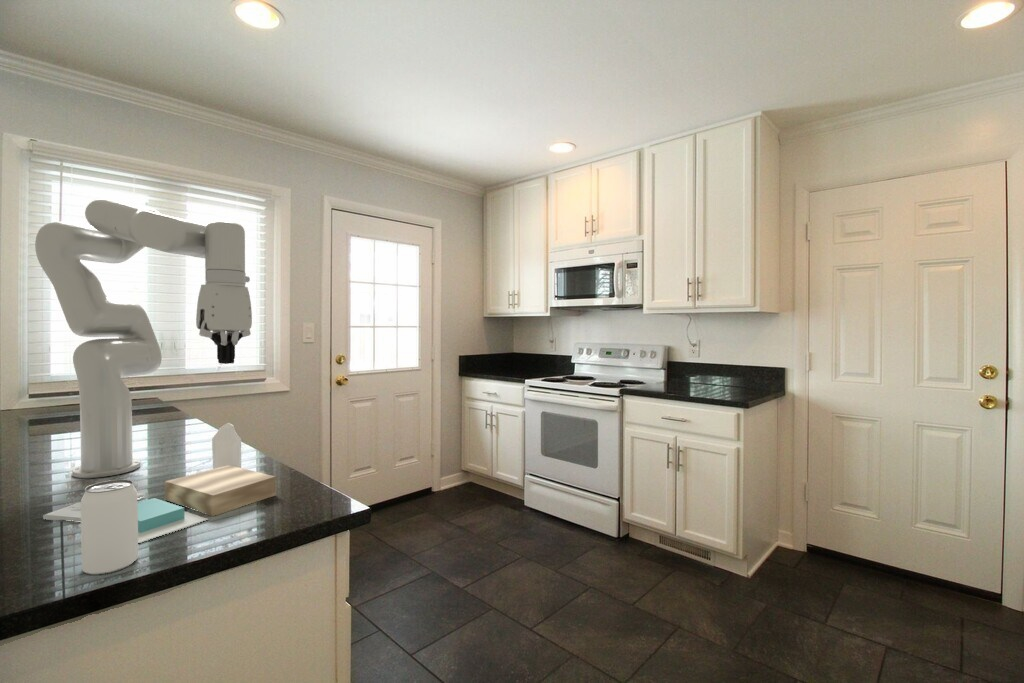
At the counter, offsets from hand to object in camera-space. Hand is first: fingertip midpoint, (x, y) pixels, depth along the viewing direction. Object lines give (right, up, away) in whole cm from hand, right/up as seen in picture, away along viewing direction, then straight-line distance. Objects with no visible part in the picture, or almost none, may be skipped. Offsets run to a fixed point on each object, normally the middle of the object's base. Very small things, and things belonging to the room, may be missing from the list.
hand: (226, 363), depth 107 cm
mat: (-3, -28, -19) cm, 34 cm away
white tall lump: (-5, -27, +9) cm, 29 cm away
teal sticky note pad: (-3, -26, -19) cm, 32 cm away
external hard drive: (-17, -28, -13) cm, 36 cm away
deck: (+3, -27, -7) cm, 29 cm away
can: (+3, -29, -35) cm, 45 cm away
